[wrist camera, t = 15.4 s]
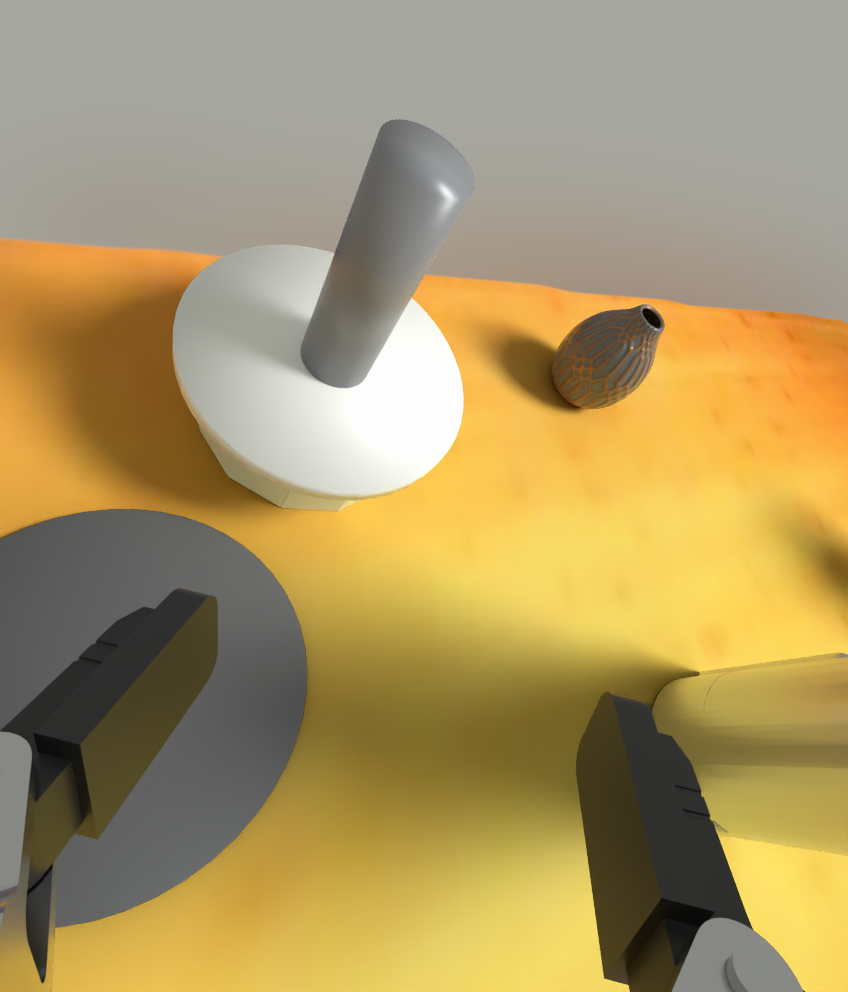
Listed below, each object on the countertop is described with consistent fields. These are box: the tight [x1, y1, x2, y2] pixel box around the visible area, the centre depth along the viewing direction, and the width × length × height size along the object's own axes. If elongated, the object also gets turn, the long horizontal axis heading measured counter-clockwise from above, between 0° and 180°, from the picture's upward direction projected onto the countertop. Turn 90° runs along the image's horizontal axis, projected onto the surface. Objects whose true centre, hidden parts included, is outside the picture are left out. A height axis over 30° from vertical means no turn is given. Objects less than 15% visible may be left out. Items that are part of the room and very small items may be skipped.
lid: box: [173, 120, 475, 500], centre depth 22 cm, size 15×15×12 cm
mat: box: [0, 509, 307, 928], centre depth 22 cm, size 16×16×1 cm
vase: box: [552, 304, 665, 409], centre depth 40 cm, size 7×7×9 cm
